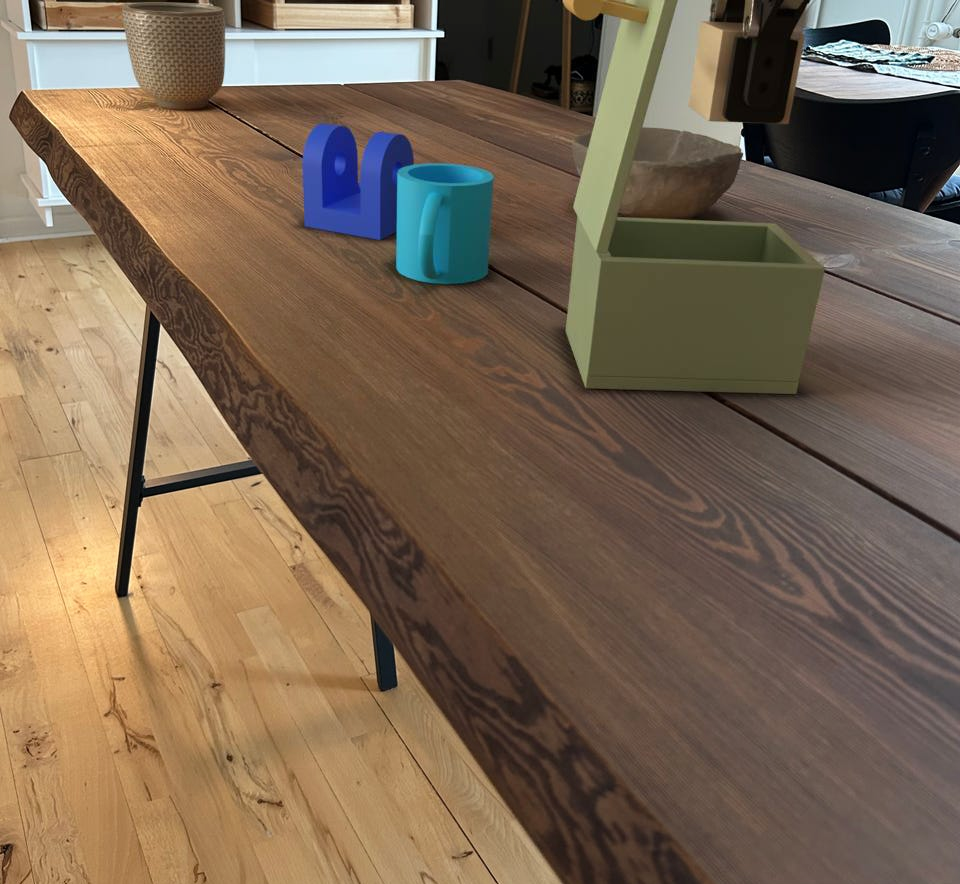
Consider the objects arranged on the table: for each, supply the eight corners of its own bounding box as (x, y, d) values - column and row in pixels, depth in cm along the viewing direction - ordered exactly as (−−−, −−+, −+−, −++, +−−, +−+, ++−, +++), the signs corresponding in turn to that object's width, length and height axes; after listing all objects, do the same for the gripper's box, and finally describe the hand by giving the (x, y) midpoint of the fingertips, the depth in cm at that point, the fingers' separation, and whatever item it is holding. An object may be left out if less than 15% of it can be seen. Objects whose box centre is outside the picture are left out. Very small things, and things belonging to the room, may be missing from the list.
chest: (752, 337, 80) (775, 223, 76) (796, 394, 71) (825, 268, 67) (565, 331, 79) (577, 215, 75) (585, 388, 70) (600, 259, 65)
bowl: (599, 187, 121) (607, 115, 117) (747, 212, 115) (761, 136, 110) (539, 220, 107) (546, 139, 103) (704, 250, 101) (718, 165, 96)
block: (763, 109, 59) (778, 24, 56) (788, 124, 55) (806, 33, 53) (688, 106, 58) (700, 21, 56) (708, 121, 55) (722, 30, 52)
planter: (200, 94, 159) (193, 1, 152) (249, 109, 150) (243, 11, 144) (115, 101, 151) (103, 2, 144) (161, 117, 142) (151, 13, 135)
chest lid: (646, -30, 67) (566, -50, 66) (683, -19, 57) (590, -42, 57) (583, 210, 75) (511, 195, 74) (607, 254, 65) (524, 237, 64)
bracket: (380, 240, 98) (380, 140, 93) (304, 226, 100) (301, 129, 95) (458, 200, 112) (461, 112, 107) (390, 189, 114) (391, 103, 110)
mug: (407, 251, 95) (409, 159, 91) (495, 260, 94) (500, 168, 90) (374, 292, 85) (374, 191, 80) (472, 302, 84) (477, 201, 80)
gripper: (974, -339, 40) (862, 147, 50) (822, -278, 55) (758, 90, 64) (789, -354, 40) (711, 141, 49) (684, -288, 54) (640, 85, 63)
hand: (738, 108), depth 57 cm, fingers closed on block, 4 cm apart
